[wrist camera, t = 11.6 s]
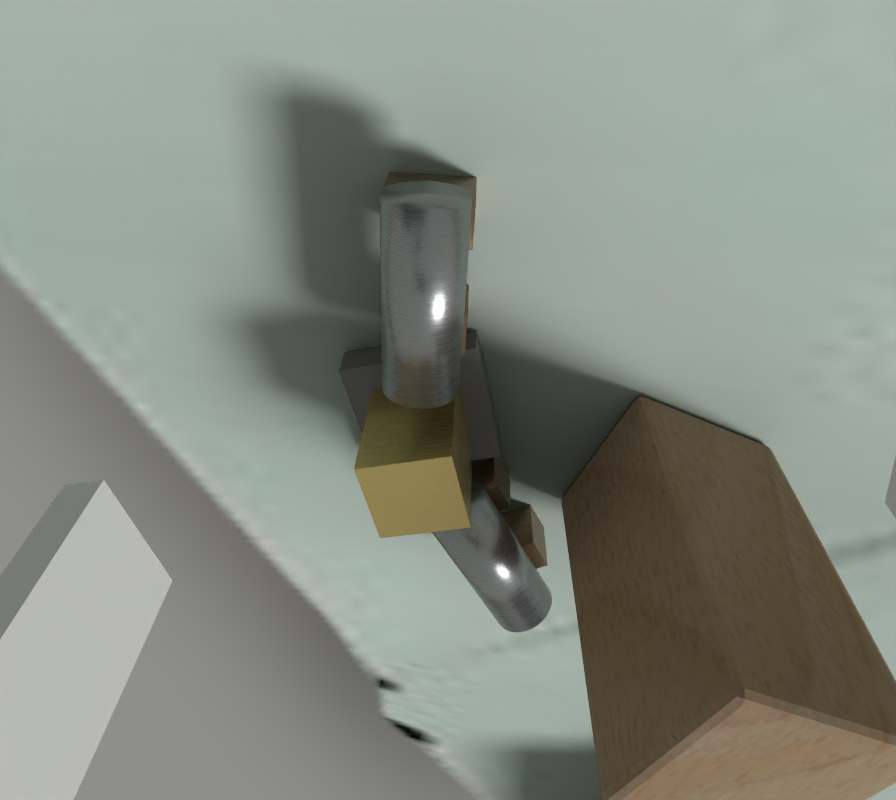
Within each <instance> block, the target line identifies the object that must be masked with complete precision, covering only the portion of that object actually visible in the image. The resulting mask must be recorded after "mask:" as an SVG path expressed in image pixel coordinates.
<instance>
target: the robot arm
mask: <svg viewBox="0 0 896 800" xmlns="http://www.w3.org/2000/svg"><path fill="white" fill-rule="evenodd" d="M885 503H886V505H887V506H888V508H889V509H890V511H891V512H892V514H893V515H894V517H895V518H896V457H895V461H894V465H893V470H892V474H891V478H890V483H889V487H888V491H887V495H886V500H885ZM171 582H172V579H171V578H170V577H169V575H168V574H167V572H166V571H165V569H164V568H163V566H162V565H161V563H160V562H159V561H158V559H157V558H156V556H155V555H154V553H153V552H152V550H151V549H150V547H149V546H148V544H147V543H146V541H145V540H144V538H143V537H142V535H141V534H140V532H139V531H138V530H137V528H136V527H135V525H134V524H133V522H132V521H131V519H130V518H129V516H128V515H127V513H126V512H125V511H124V509H123V508H122V506H121V505H120V503H119V502H118V500H117V499H116V497H115V496H114V494H113V493H112V492H111V490H110V488H109V487H108V485H107V484H106V483H105V481H104V480H99V481H92V482H84V483H76V484H69V485H64V487H63V488H62V490H61V491H60V492H59V494H58V495H57V496H56V498H55V499H54V501H53V502H52V503H51V505H50V506H49V508H48V509H47V511H46V512H45V513H44V515H43V516H42V518H41V519H40V520H39V522H38V523H37V525H36V526H35V528H34V529H33V531H32V532H31V533H30V535H29V536H28V537H27V539H26V540H25V542H24V543H23V544H22V546H21V547H20V549H19V550H18V552H17V553H16V554H15V556H14V557H13V559H12V560H11V562H10V563H9V564H8V566H7V567H6V568H5V570H4V571H3V573H2V574H1V575H0V800H74V798H75V795H76V793H77V791H78V789H79V786H80V784H81V782H82V780H83V778H84V775H85V773H86V771H87V769H88V766H89V764H90V762H91V760H92V758H93V755H94V753H95V751H96V749H97V747H98V744H99V742H100V740H101V738H102V735H103V733H104V731H105V729H106V726H107V724H108V722H109V720H110V718H111V715H112V713H113V711H114V709H115V706H116V704H117V702H118V700H119V698H120V696H121V693H122V691H123V689H124V687H125V684H126V682H127V680H128V678H129V675H130V673H131V671H132V669H133V667H134V665H135V662H136V660H137V658H138V656H139V653H140V651H141V649H142V647H143V645H144V642H145V640H146V638H147V636H148V634H149V631H150V629H151V627H152V625H153V622H154V620H155V618H156V616H157V614H158V611H159V609H160V607H161V605H162V602H163V600H164V598H165V596H166V594H167V591H168V589H169V587H170V585H171Z"/></svg>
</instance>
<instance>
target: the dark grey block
mask: <svg viewBox="0 0 896 800" xmlns="http://www.w3.org/2000/svg"><path fill="white" fill-rule="evenodd" d="M340 374H341V376H342V379H343V382H344V385H345V387H346V390H347V393H348V396H349V398H350V401H351V404H352V406H353V409H354V412H355V415H356V417H357V420H358V423H359V426H360V428H361V431H362V433H363V429H364V425H365V420H366V416H367V412H368V408H369V403H370V399H371V395H372V390H377V389H382V360H381V347H375V348H369V349H363V350H357V351H351V352H345V355H344V358H343V361H342V364H341V367H340ZM459 391H460V395H461V399H462V403H463V408H464V412H465V416H466V420H467V424H468V428H469V433H470V437H471V441H472V461H473V460H480V459H487V458H494V457H500V435H499V431H498V426H497V421H496V417H495V412H494V408H493V403H492V399H491V394H490V390H489V385H488V381H487V376H486V372H485V367H484V362H483V358H482V353H481V349H480V344H479V340H478V335H477V331H470V332H466V344H465V355H461V368H460V382H459Z"/></svg>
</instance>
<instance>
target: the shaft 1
mask: <svg viewBox="0 0 896 800" xmlns="http://www.w3.org/2000/svg"><path fill="white" fill-rule="evenodd" d="M475 207H476V177H462V176H445V175H429V174H413V173H396V172H389V175H388V178H387V181H386V183H385V186H384V189H383V190H382V191H381V192H380V268H381V360H382V390H383V393H384V394H385V396H386V397H387V398H388V399H390V400H391V401H392V402H394V403H396V404H398V405H401V406H404V407H408V408H415V409H429V408H435V407H439V406H442V405H445V404H447V403H449V402H450V401H452V400H453V399H454V398H455V397H456V396H457V394H458V392H459V382H460V368H461V355H465V344H466V331H467V317H468V291H469V285H466V281H467V267H468V252H469V250H472V248H473V234H474V220H475Z"/></svg>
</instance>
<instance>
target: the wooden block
mask: <svg viewBox="0 0 896 800" xmlns="http://www.w3.org/2000/svg"><path fill="white" fill-rule="evenodd" d="M562 508H563V516H564V523H565V530H566V538H567V545H568V553H569V560H570V567H571V575H572V582H573V590H574V597H575V604H576V612H577V619H578V627H579V634H580V641H581V649H582V656H583V664H584V671H585V678H586V686H587V693H588V701H589V708H590V716H591V723H592V730H593V738H594V745H595V753H596V760H597V767H598V775H599V782H600V790H601V796H602V798H603V800H866V799H868V798H870V797H872V796H873V795H875V794H877V793H879V792H880V791H882V790H884V789H886V788H887V787H889V786H891V785H893V784H894V783H896V680H895V679H894V677H893V675H892V673H891V671H890V669H889V668H888V666H887V664H886V662H885V660H884V658H883V656H882V655H881V653H880V651H879V649H878V647H877V645H876V643H875V642H874V640H873V638H872V636H871V634H870V632H869V630H868V629H867V627H866V625H865V623H864V621H863V619H862V617H861V616H860V614H859V612H858V610H857V608H856V606H855V604H854V603H853V601H852V599H851V597H850V595H849V593H848V591H847V590H846V588H845V586H844V584H843V582H842V580H841V579H840V577H839V575H838V573H837V571H836V569H835V567H834V566H833V564H832V562H831V560H830V558H829V556H828V554H827V553H826V551H825V549H824V547H823V545H822V543H821V541H820V540H819V538H818V536H817V534H816V532H815V530H814V528H813V527H812V525H811V523H810V521H809V519H808V517H807V515H806V514H805V512H804V510H803V508H802V506H801V504H800V502H799V501H798V499H797V497H796V495H795V493H794V491H793V490H792V488H791V486H790V484H789V482H788V480H787V478H786V477H785V475H784V473H783V471H782V469H781V467H780V465H779V464H778V462H777V460H776V458H775V456H774V454H773V452H772V451H771V450H770V448H769V447H767V446H765V445H763V444H760V443H758V442H755V441H753V440H750V439H748V438H745V437H743V436H740V435H738V434H735V433H733V432H730V431H728V430H725V429H723V428H720V427H718V426H715V425H713V424H710V423H708V422H705V421H703V420H700V419H698V418H695V417H693V416H690V415H688V414H685V413H683V412H680V411H678V410H675V409H673V408H670V407H668V406H665V405H663V404H660V403H658V402H655V401H653V400H650V399H648V398H646V397H638V398H637V399H635V401H634V402H633V403H632V405H631V406H630V407H629V409H628V410H627V411H626V413H625V414H624V416H623V417H622V418H621V420H620V421H619V422H618V424H617V425H616V426H615V428H614V429H613V430H612V432H611V433H610V434H609V436H608V437H607V439H606V440H605V441H604V443H603V444H602V445H601V447H600V448H599V449H598V451H597V452H596V453H595V455H594V456H593V457H592V459H591V460H590V461H589V463H588V464H587V466H586V467H585V468H584V470H583V471H582V472H581V474H580V475H579V476H578V478H577V479H576V480H575V482H574V483H573V484H572V486H571V487H570V489H569V490H568V491H567V493H566V494H565V495H564V497H563V499H562Z"/></svg>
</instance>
